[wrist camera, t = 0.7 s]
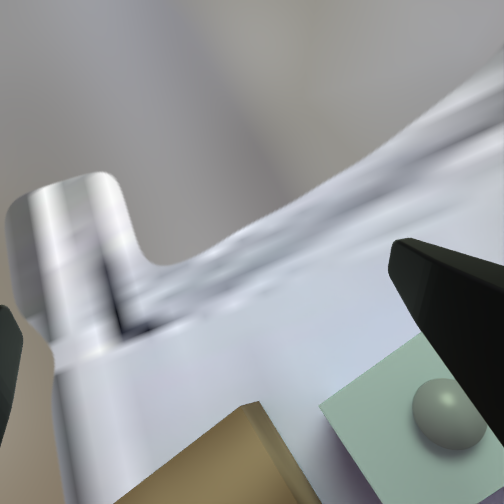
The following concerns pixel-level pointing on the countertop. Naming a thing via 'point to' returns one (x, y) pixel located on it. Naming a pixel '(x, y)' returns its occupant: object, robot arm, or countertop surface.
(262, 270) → the countertop surface
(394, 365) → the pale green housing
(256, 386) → the countertop surface
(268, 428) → the walnut stand
